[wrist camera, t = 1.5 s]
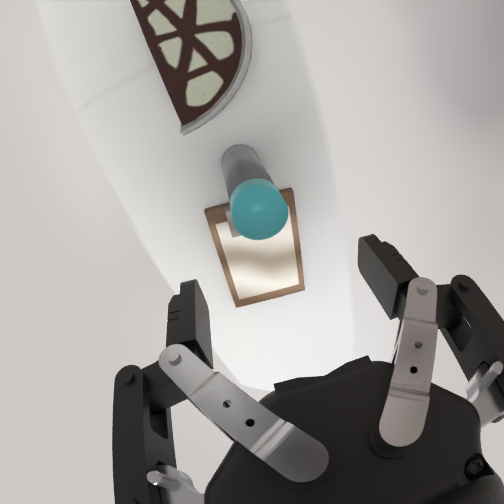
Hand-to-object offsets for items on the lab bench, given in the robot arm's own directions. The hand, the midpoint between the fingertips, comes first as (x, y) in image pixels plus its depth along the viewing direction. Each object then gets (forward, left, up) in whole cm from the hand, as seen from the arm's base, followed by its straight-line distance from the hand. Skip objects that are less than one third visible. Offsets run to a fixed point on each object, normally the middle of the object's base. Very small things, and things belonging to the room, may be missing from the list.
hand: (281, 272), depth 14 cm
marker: (0, 0, -16) cm, 16 cm away
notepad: (+11, 0, -16) cm, 20 cm away
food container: (-12, -1, -17) cm, 21 cm away
